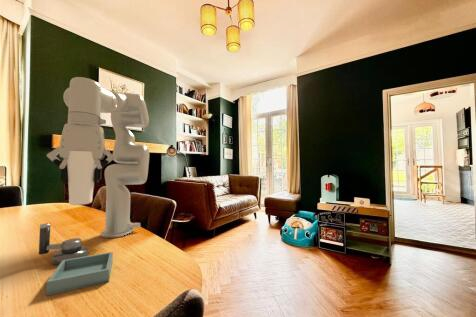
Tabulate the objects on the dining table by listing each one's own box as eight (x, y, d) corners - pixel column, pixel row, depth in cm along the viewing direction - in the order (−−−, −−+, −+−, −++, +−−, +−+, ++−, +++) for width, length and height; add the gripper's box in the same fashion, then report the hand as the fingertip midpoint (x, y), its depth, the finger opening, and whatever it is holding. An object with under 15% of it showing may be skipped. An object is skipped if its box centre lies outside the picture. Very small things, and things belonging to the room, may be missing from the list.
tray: (112, 262, 63) (112, 251, 64) (108, 281, 53) (109, 269, 53) (62, 271, 58) (62, 260, 58) (46, 296, 47) (46, 282, 47)
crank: (83, 246, 69) (84, 219, 69) (77, 252, 64) (79, 223, 65) (43, 251, 65) (44, 222, 65) (34, 257, 60) (36, 226, 60)
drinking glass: (70, 206, 52) (72, 150, 53) (61, 204, 56) (64, 151, 57) (99, 203, 58) (101, 152, 59) (89, 201, 62) (91, 153, 63)
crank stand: (88, 260, 65) (88, 250, 65) (50, 268, 59) (51, 258, 59) (87, 244, 77) (87, 236, 77) (56, 250, 72) (56, 242, 72)
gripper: (119, 126, 66) (117, 181, 65) (50, 121, 58) (47, 182, 57) (117, 122, 59) (115, 182, 58) (39, 114, 51) (35, 184, 50)
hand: (81, 182), depth 57 cm, fingers closed on drinking glass, 6 cm apart
